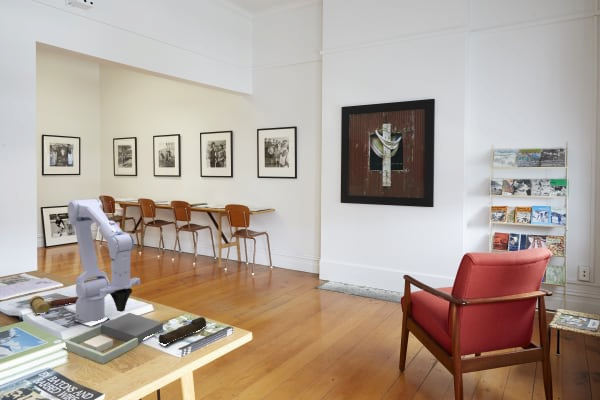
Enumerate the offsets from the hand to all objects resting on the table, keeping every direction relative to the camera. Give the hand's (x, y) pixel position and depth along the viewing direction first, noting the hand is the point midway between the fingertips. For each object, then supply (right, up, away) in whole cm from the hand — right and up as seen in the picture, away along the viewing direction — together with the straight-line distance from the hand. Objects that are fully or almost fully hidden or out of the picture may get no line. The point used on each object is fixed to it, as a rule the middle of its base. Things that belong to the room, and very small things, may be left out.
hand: (120, 310), depth 135 cm
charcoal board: (+2, -9, +6) cm, 11 cm away
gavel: (-33, -5, +25) cm, 41 cm away
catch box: (-4, -10, -5) cm, 12 cm away
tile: (-4, -8, -6) cm, 11 cm away
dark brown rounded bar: (+19, -10, +5) cm, 23 cm away
